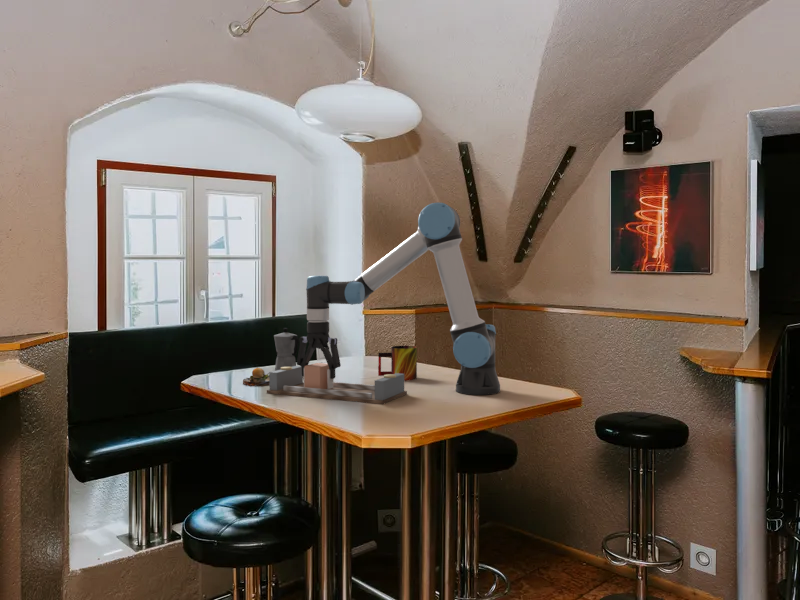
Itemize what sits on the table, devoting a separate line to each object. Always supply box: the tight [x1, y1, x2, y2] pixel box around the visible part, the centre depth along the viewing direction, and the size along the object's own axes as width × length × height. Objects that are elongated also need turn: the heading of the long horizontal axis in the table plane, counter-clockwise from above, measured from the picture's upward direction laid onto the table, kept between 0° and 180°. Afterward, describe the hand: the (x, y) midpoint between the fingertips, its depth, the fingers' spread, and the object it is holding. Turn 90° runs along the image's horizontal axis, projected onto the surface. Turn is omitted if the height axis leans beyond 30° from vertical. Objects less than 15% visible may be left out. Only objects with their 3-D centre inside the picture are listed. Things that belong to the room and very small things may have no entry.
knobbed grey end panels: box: [268, 365, 405, 400], centre depth 232 cm, size 44×16×7 cm, turn 65°
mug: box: [377, 345, 418, 381], centre depth 262 cm, size 10×14×12 cm
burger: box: [242, 367, 270, 387], centre depth 253 cm, size 12×12×8 cm
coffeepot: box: [273, 327, 300, 371], centre depth 276 cm, size 15×9×18 cm, turn 43°
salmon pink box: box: [305, 362, 329, 389], centre depth 235 cm, size 6×8×8 cm
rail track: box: [266, 381, 408, 405], centre depth 232 cm, size 44×18×2 cm, turn 65°
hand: (318, 387), depth 235 cm, fingers open, 9 cm apart
